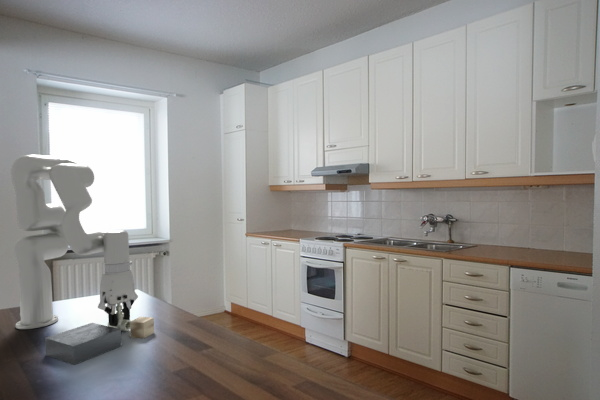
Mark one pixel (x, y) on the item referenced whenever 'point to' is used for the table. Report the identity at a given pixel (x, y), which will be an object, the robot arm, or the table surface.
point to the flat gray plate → (82, 343)
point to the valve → (121, 318)
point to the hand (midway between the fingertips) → (119, 322)
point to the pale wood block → (142, 327)
